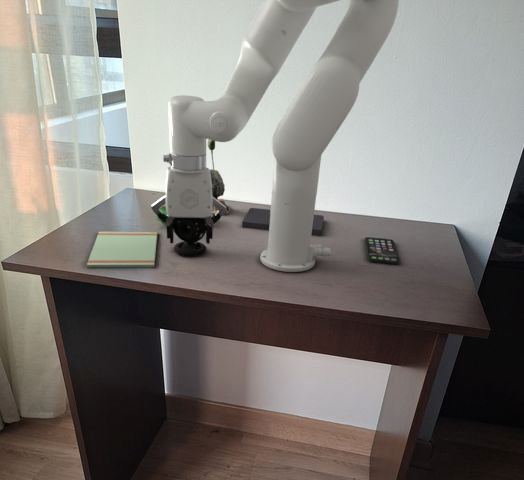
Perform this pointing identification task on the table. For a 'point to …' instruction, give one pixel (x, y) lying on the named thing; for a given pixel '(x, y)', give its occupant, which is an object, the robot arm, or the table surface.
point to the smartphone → (381, 250)
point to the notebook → (262, 220)
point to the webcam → (189, 236)
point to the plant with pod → (216, 182)
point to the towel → (124, 249)
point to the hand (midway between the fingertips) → (189, 241)
